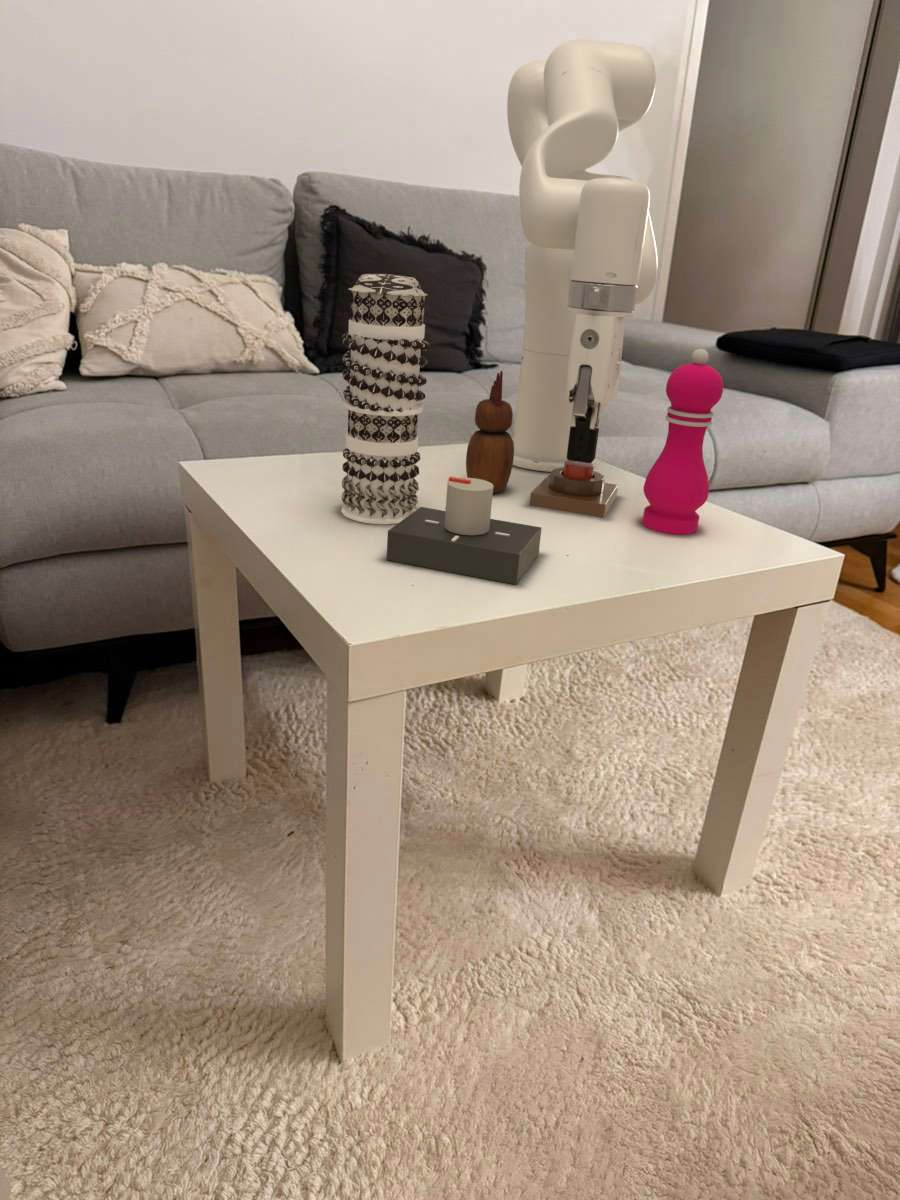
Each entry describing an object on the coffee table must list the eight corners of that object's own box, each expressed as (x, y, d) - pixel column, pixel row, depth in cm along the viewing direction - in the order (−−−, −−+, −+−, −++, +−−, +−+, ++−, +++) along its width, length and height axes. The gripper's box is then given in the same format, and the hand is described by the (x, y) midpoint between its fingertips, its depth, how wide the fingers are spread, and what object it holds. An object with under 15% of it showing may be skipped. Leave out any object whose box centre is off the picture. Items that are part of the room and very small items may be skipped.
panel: (418, 533, 90) (420, 505, 89) (538, 555, 86) (542, 525, 85) (386, 560, 82) (387, 529, 81) (516, 584, 78) (519, 552, 77)
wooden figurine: (505, 499, 104) (518, 374, 98) (459, 494, 105) (469, 369, 99) (513, 485, 110) (525, 367, 104) (469, 480, 111) (479, 362, 105)
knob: (494, 526, 84) (499, 479, 82) (481, 538, 80) (485, 489, 79) (453, 518, 86) (456, 472, 84) (437, 530, 82) (441, 482, 80)
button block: (547, 486, 111) (550, 460, 110) (616, 497, 109) (620, 470, 107) (529, 506, 102) (532, 477, 101) (603, 518, 100) (607, 489, 98)
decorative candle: (361, 529, 90) (369, 277, 80) (324, 504, 97) (328, 270, 87) (435, 520, 94) (451, 281, 85) (394, 497, 101) (406, 274, 92)
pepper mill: (633, 529, 97) (663, 348, 89) (642, 513, 103) (671, 342, 95) (698, 541, 94) (734, 356, 87) (703, 523, 101) (738, 349, 93)
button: (565, 471, 106) (567, 458, 106) (594, 476, 105) (596, 462, 105) (560, 478, 103) (561, 464, 102) (589, 482, 102) (591, 468, 101)
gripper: (625, 305, 88) (601, 478, 95) (642, 301, 102) (620, 453, 109) (555, 299, 90) (536, 468, 97) (580, 296, 104) (562, 445, 111)
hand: (580, 460), depth 103 cm, fingers closed
